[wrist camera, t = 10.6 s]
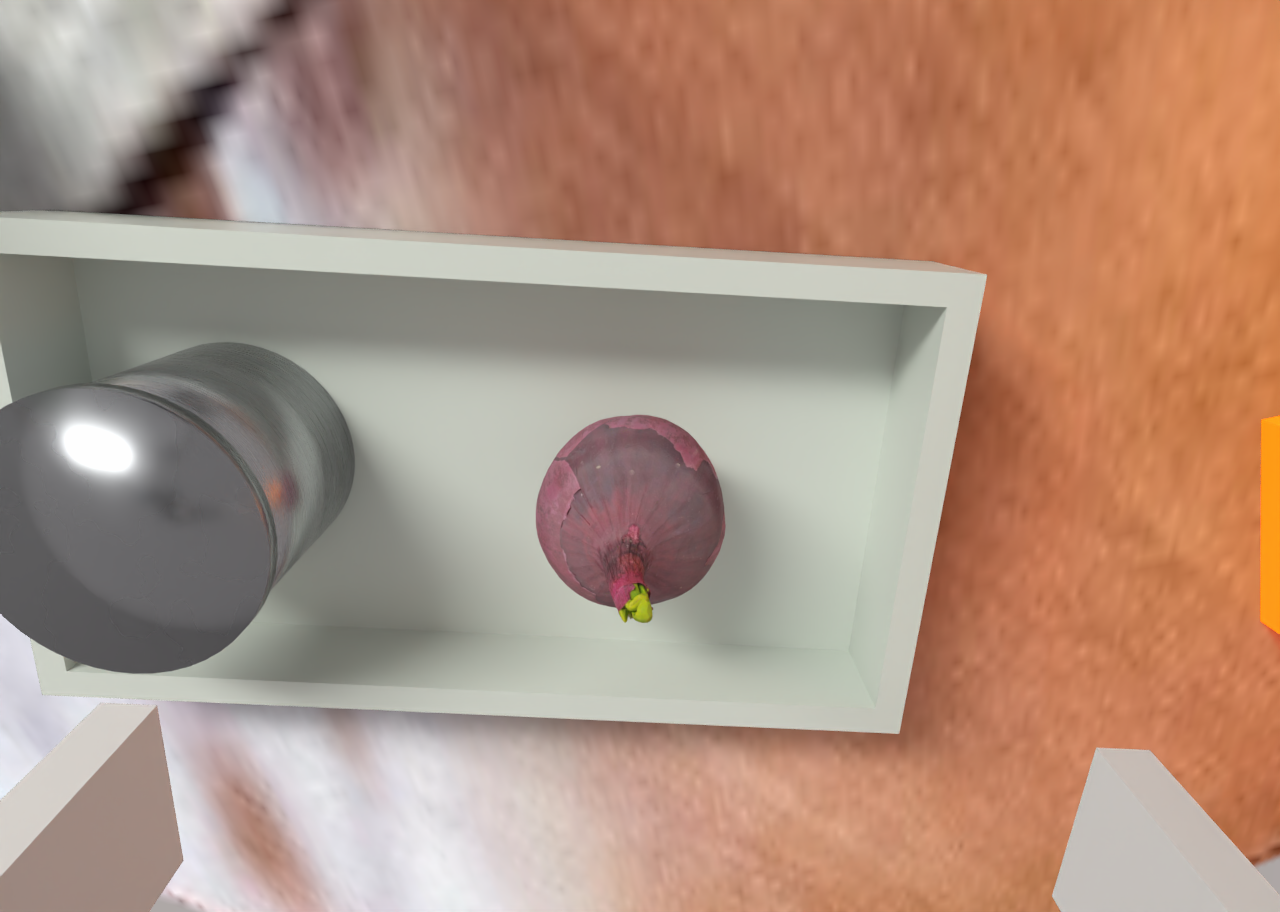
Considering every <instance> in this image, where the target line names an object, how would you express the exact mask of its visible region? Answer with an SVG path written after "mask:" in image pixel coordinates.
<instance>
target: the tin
mask: <svg viewBox="0 0 1280 912" xmlns="http://www.w3.org/2000/svg"><path fill="white" fill-rule="evenodd" d="M354 472H355V456H354V448H353V442H352V439H351V435H350V431H349V428H348V426H347V424H346V421H345V419H344V416H343V415H342V413H341V411H340V409H339V407H338V406H337V404H336V402H335V401H334V400H333V398H332V397H331V396H330V394H329V393H328V392H327V390H326V389H325V388H324V387H323V386H322V385H321V384H320V383H319V382H318V381H317V380H316V379H315V378H314V377H313V376H312V375H310V374H309V373H308V372H307V371H306V370H304V369H303V368H302V367H300V366H299V365H297V364H296V363H294V362H293V361H291V360H289V359H287V358H285V357H283V356H281V355H279V354H278V353H275V352H272V351H270V350H267V349H264V348H262V347H258V346H253V345H249V344H244V343H235V342H214V343H207V344H201V345H197V346H194V347H190V348H187V349H184V350H181V351H179V352H176V353H173V354H170V355H167V356H164V357H162V358H159V359H156V360H153V361H150V362H147V363H145V364H142V365H139V366H136V367H133V368H131V369H128V370H125V371H122V372H119V373H116V374H114V375H111V376H108V377H105V378H102V379H99V380H97V381H94V382H91V383H79V384H72V385H65V386H59V387H55V388H52V389H48V390H45V391H42V392H38V393H35V394H32V395H30V396H27V397H24V398H21V399H19V400H17V401H15V402H13V403H11V404H8V405H6V406H5V407H3V408H2V409H0V613H1V614H2V616H3V617H4V618H6V619H7V620H8V621H9V622H10V623H11V624H13V625H14V626H15V627H16V628H17V629H18V630H20V631H21V632H22V633H24V634H25V635H27V636H28V637H30V638H31V639H33V640H34V641H35V642H37V643H38V644H40V645H42V646H44V647H46V648H47V649H49V650H51V651H53V652H55V653H57V654H59V655H61V656H64V657H66V658H68V659H71V660H73V661H75V662H78V663H82V664H85V665H88V666H91V667H94V668H99V669H103V670H108V671H113V672H122V673H132V674H153V673H161V672H169V671H174V670H178V669H182V668H186V667H190V666H192V665H195V664H197V663H200V662H202V661H205V660H207V659H208V658H210V657H212V656H214V655H215V654H217V653H219V652H221V651H222V650H223V649H224V648H226V647H227V646H228V645H229V644H231V643H232V642H233V641H234V640H235V639H236V638H237V637H238V636H239V635H240V634H241V633H242V632H243V631H244V630H245V629H246V627H247V626H248V625H249V624H250V623H251V622H252V621H253V620H254V618H255V617H256V616H257V614H258V613H259V611H260V610H261V608H262V607H263V605H264V604H265V601H266V599H267V597H268V595H269V593H270V591H271V589H272V588H273V587H274V586H275V585H276V584H277V583H278V582H279V581H280V580H281V578H282V577H283V576H284V575H285V574H286V573H287V572H288V571H289V570H290V569H291V568H292V566H293V565H294V564H295V563H296V562H297V561H298V560H299V559H300V558H301V557H302V555H303V554H304V553H305V552H306V551H307V550H308V549H309V548H310V547H311V546H312V545H313V543H314V542H315V541H316V540H317V539H318V538H319V537H320V536H321V535H322V534H323V533H324V531H325V530H326V529H327V528H328V527H329V526H330V525H331V524H332V523H333V522H334V520H335V519H336V518H337V517H338V515H339V514H340V512H341V511H342V509H343V508H344V506H345V504H346V502H347V500H348V497H349V495H350V491H351V488H352V485H353V479H354Z"/></svg>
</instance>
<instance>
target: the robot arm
mask: <svg viewBox="0 0 1280 912" xmlns="http://www.w3.org/2000/svg"><path fill="white" fill-rule="evenodd" d="M182 862H183V855H182V849H181V843H180V837H179V832H178V826H177V820H176V814H175V808H174V802H173V796H172V791H171V785H170V779H169V773H168V767H167V761H166V756H165V750H164V744H163V738H162V732H161V726H160V720H159V715H158V709H157V705H140V704H118V703H100V704H99V705H98V706H97V707H96V708H95V709H94V710H93V711H92V712H91V713H90V714H89V715H88V716H86V717H85V718H84V719H83V720H82V721H81V722H80V723H79V724H78V725H77V726H76V727H75V728H74V729H73V730H72V731H71V732H70V733H69V734H68V735H67V736H66V737H65V738H64V739H63V740H62V741H61V742H60V743H59V744H58V745H57V746H56V747H55V748H54V749H53V750H52V751H51V752H50V753H49V754H48V755H46V756H45V757H44V758H43V759H42V760H41V761H40V762H39V763H38V764H37V765H36V766H35V767H34V768H33V769H32V770H31V771H30V772H29V773H28V774H27V775H26V776H25V777H24V778H23V779H22V780H21V781H20V782H19V783H18V784H17V785H16V786H15V787H14V788H13V789H12V790H11V791H10V792H9V793H8V794H6V795H5V796H4V797H3V798H2V799H1V800H0V912H149V911H150V910H151V908H152V907H153V905H154V904H155V902H156V901H157V899H158V898H159V896H160V895H161V893H162V892H163V890H164V889H165V887H166V886H167V884H168V883H169V881H170V880H171V878H172V877H173V875H174V874H175V872H176V871H177V869H178V868H179V866H180V865H181V863H182ZM1052 897H1053V899H1054V900H1055V902H1056V904H1057V906H1058V907H1059V909H1060V911H1061V912H1280V895H1279V894H1278V893H1277V892H1276V890H1275V889H1274V888H1273V887H1272V886H1271V885H1270V884H1269V883H1268V882H1267V880H1266V879H1265V878H1264V877H1263V876H1262V875H1261V874H1260V873H1259V872H1258V870H1257V869H1256V868H1255V867H1254V866H1253V865H1252V864H1251V863H1250V861H1249V860H1248V859H1247V858H1246V857H1245V856H1244V855H1243V854H1242V853H1241V851H1240V850H1239V849H1238V848H1237V847H1236V846H1235V845H1234V844H1233V842H1232V841H1231V840H1230V839H1229V838H1228V837H1227V836H1226V835H1225V834H1224V832H1223V831H1222V830H1221V829H1220V828H1219V827H1218V826H1217V825H1216V824H1215V822H1214V821H1213V820H1212V819H1211V818H1210V817H1209V816H1208V815H1207V813H1206V812H1205V811H1204V810H1203V809H1202V808H1201V807H1200V806H1199V805H1198V803H1197V802H1196V801H1195V800H1194V799H1193V798H1192V797H1191V796H1190V795H1189V793H1188V792H1187V791H1186V790H1185V789H1184V788H1183V787H1182V786H1181V784H1180V783H1179V782H1178V781H1177V780H1176V779H1175V778H1174V777H1173V776H1172V774H1171V773H1170V772H1169V771H1168V770H1167V769H1166V768H1165V767H1164V766H1163V764H1162V763H1161V762H1160V761H1159V760H1158V759H1157V758H1156V757H1155V755H1154V754H1153V753H1152V752H1151V751H1150V750H1136V749H1114V748H1096V750H1095V754H1094V757H1093V761H1092V764H1091V767H1090V771H1089V774H1088V777H1087V781H1086V784H1085V787H1084V791H1083V794H1082V797H1081V801H1080V804H1079V807H1078V811H1077V814H1076V818H1075V821H1074V824H1073V828H1072V831H1071V834H1070V838H1069V841H1068V844H1067V848H1066V851H1065V854H1064V858H1063V861H1062V864H1061V868H1060V871H1059V874H1058V878H1057V881H1056V885H1055V888H1054V891H1053V895H1052Z"/></svg>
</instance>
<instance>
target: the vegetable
mask: <svg viewBox="0 0 1280 912" xmlns="http://www.w3.org/2000/svg"><path fill="white" fill-rule="evenodd" d="M725 528H726V525H725V512H724V502H723V496H722V490H721V487H720V483H719V480H718V477H717V474H716V472H715V469H714V467H713V465H712V463H711V461H710V459H709V458H708V456H707V455H706V453H705V451H704V450H703V449H702V448H701V446H700V445H699V444H698V443H697V441H696V440H695V439H694V438H693V437H692V436H691V435H690V434H689V433H688V432H687V431H685V430H684V429H683V428H681V427H679V426H678V425H676V424H674V423H672V422H670V421H668V420H666V419H663V418H660V417H655V416H650V415H631V416H616V417H611V418H606V419H602V420H599V421H597V422H594V423H592V424H590V425H588V426H587V427H585V428H584V429H582V430H581V431H579V432H578V433H577V434H576V435H574V436H573V437H572V438H571V439H570V440H569V441H568V442H567V443H566V444H565V445H564V446H563V448H562V449H561V450H560V451H559V452H558V454H557V455H556V457H555V458H554V460H553V462H552V463H551V465H550V467H549V468H548V470H547V472H546V475H545V477H544V479H543V482H542V485H541V488H540V491H539V494H538V498H537V504H536V529H537V535H538V539H539V542H540V545H541V548H542V550H543V552H544V554H545V556H546V558H547V560H548V562H549V564H550V565H551V567H552V568H553V569H554V571H555V572H556V574H557V575H558V576H559V578H560V579H561V580H562V581H563V582H564V583H565V584H566V585H567V586H568V587H569V588H570V589H572V590H573V591H574V592H576V593H577V594H578V595H580V596H582V597H584V598H585V599H587V600H589V601H592V602H594V603H597V604H600V605H605V606H609V607H615V608H617V610H618V613H619V615H620V617H621V619H622V620H623V622H625V623H626V622H627V620H628V617H630V619H632V618H633V619H634V620H635V621H638V622H641V623H648V622H650V621H651V620H652V617H653V615H652V610H653V607H652V606H651V605H652V604H657V603H660V602H664V601H667V600H670V599H673V598H676V597H678V596H681V595H682V594H684V593H686V592H687V591H689V590H691V589H692V588H693V587H694V586H696V585H697V584H698V583H699V582H700V581H701V580H702V579H703V578H704V576H705V575H706V574H707V572H708V571H709V570H710V568H711V566H712V565H713V563H714V561H715V560H716V558H717V556H718V554H719V552H720V549H721V546H722V543H723V539H724V536H725Z"/></svg>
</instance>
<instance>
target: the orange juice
mask: <svg viewBox="0 0 1280 912" xmlns="http://www.w3.org/2000/svg"><path fill="white" fill-rule="evenodd" d="M1260 621H1261V622H1262V623H1264V624H1265V625H1267V626H1268V627H1270V628H1271V629H1273V630H1274V631H1275V632H1277V633H1278V634H1280V416H1276V417H1271V418H1267V419H1262V420H1261V587H1260Z"/></svg>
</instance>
